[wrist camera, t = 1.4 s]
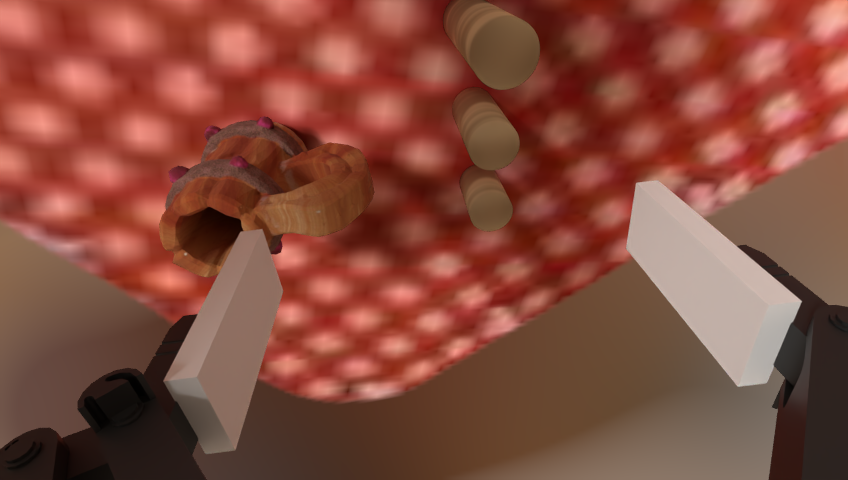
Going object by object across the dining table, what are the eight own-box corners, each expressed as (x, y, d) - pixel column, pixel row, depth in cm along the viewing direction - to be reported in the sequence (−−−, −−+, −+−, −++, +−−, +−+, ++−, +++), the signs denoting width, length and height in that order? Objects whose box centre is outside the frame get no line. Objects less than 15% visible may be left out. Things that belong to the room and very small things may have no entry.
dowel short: (457, 167, 43) (468, 196, 38) (496, 161, 43) (512, 190, 38) (461, 201, 45) (471, 234, 40) (498, 195, 45) (513, 227, 40)
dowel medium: (450, 90, 39) (466, 125, 31) (492, 84, 39) (519, 117, 31) (454, 131, 41) (470, 174, 33) (494, 125, 41) (520, 166, 33)
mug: (230, 205, 43) (167, 312, 30) (190, 120, 39) (97, 204, 26) (385, 173, 43) (386, 269, 30) (362, 84, 38) (352, 151, 26)
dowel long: (440, -3, 35) (469, 22, 23) (487, -10, 35) (540, 11, 23) (445, 47, 37) (474, 94, 25) (490, 40, 37) (540, 84, 25)
